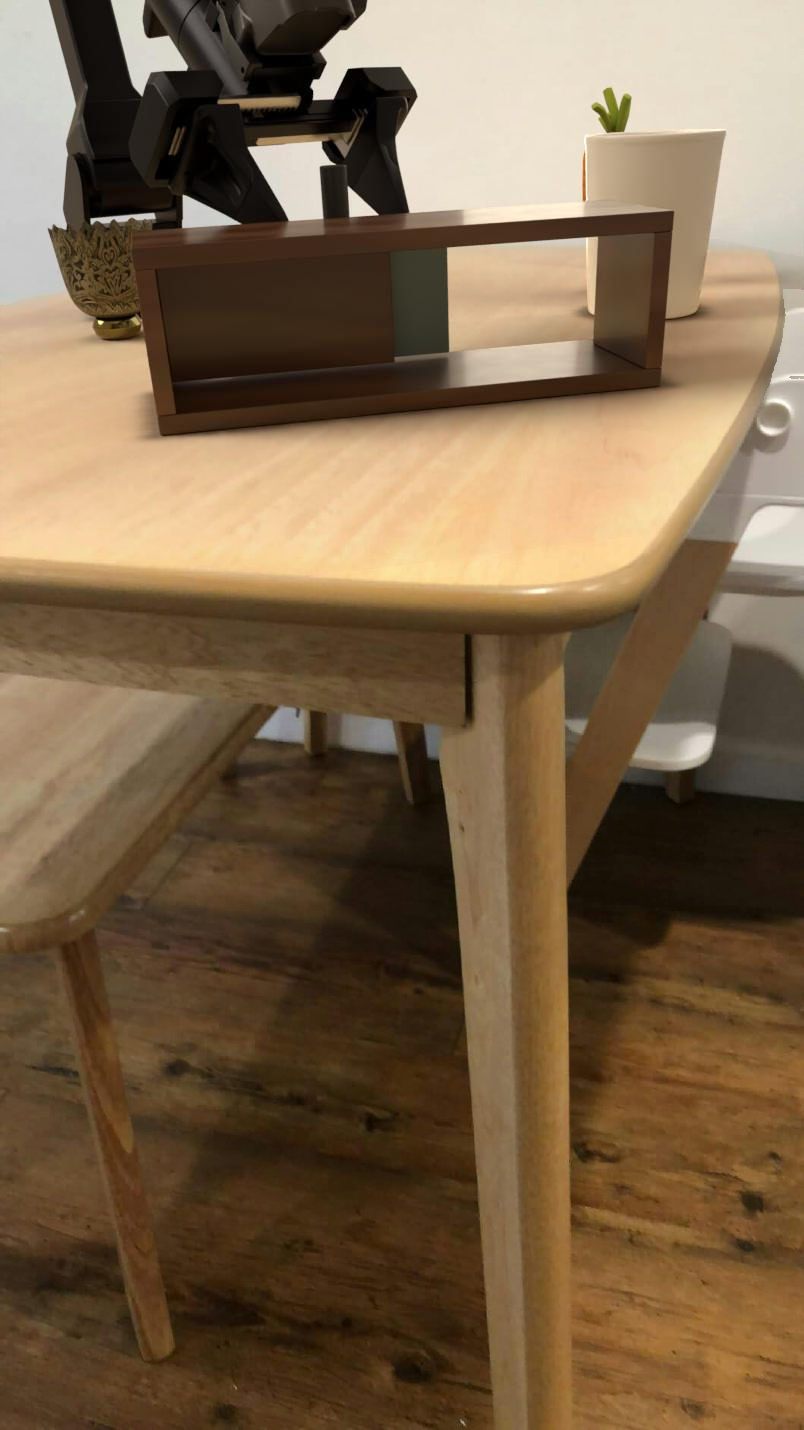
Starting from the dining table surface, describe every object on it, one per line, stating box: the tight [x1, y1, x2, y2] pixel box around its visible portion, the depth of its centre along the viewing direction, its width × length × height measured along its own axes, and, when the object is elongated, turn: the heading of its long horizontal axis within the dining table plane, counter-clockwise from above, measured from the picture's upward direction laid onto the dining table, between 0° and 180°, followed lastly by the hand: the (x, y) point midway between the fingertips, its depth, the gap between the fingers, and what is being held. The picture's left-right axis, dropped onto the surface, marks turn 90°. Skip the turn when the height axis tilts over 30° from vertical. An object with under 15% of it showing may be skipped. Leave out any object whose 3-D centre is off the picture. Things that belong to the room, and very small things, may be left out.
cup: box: [47, 217, 152, 340], centre depth 78 cm, size 8×7×8 cm
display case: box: [131, 200, 674, 436], centre depth 59 cm, size 10×28×9 cm, turn 103°
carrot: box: [581, 87, 633, 202], centre depth 87 cm, size 5×5×15 cm
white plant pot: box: [584, 128, 727, 320], centre depth 77 cm, size 10×10×12 cm
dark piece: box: [319, 164, 450, 357], centre depth 62 cm, size 5×13×10 cm, turn 103°
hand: (350, 233), depth 63 cm, fingers open, 9 cm apart
